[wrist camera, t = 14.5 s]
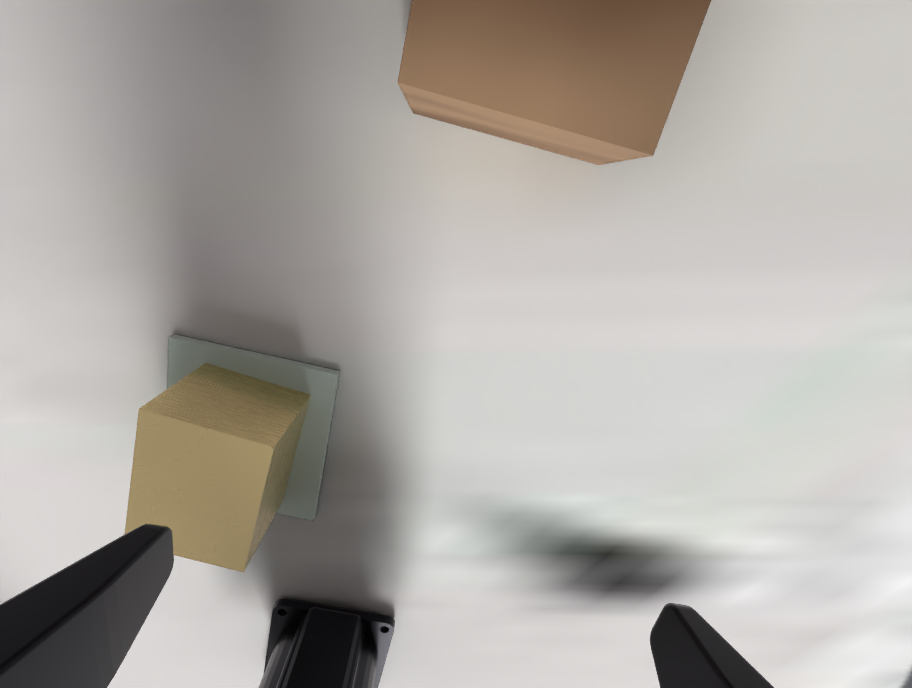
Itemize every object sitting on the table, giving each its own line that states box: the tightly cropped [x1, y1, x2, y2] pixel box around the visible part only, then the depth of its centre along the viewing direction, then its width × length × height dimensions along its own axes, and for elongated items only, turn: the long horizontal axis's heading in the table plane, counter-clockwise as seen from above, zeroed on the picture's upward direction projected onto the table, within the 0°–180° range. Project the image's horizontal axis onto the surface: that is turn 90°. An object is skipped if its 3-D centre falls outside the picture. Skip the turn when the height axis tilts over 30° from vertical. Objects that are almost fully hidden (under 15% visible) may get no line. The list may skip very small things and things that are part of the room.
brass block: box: [125, 363, 311, 572], centre depth 17 cm, size 6×4×4 cm
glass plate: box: [167, 334, 340, 521], centre depth 19 cm, size 8×7×1 cm
